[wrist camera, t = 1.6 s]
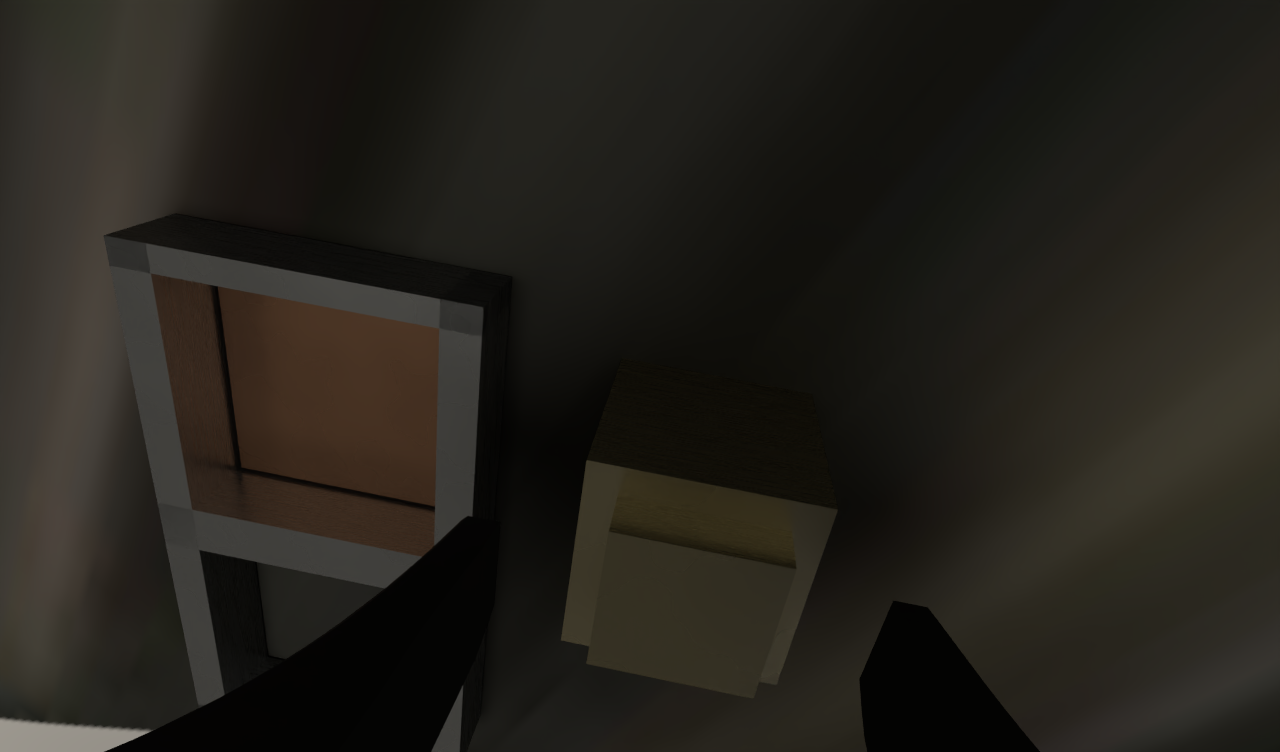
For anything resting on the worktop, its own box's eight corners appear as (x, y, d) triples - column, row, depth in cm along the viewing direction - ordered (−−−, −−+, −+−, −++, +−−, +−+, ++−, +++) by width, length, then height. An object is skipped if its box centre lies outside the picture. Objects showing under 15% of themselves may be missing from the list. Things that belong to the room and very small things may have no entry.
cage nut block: (766, 542, 18) (779, 729, 13) (598, 508, 18) (549, 680, 13) (811, 393, 16) (846, 546, 11) (622, 356, 16) (575, 493, 11)
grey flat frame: (480, 715, 22) (458, 774, 21) (242, 664, 23) (200, 718, 21) (511, 276, 16) (483, 307, 14) (173, 213, 16) (103, 235, 14)
